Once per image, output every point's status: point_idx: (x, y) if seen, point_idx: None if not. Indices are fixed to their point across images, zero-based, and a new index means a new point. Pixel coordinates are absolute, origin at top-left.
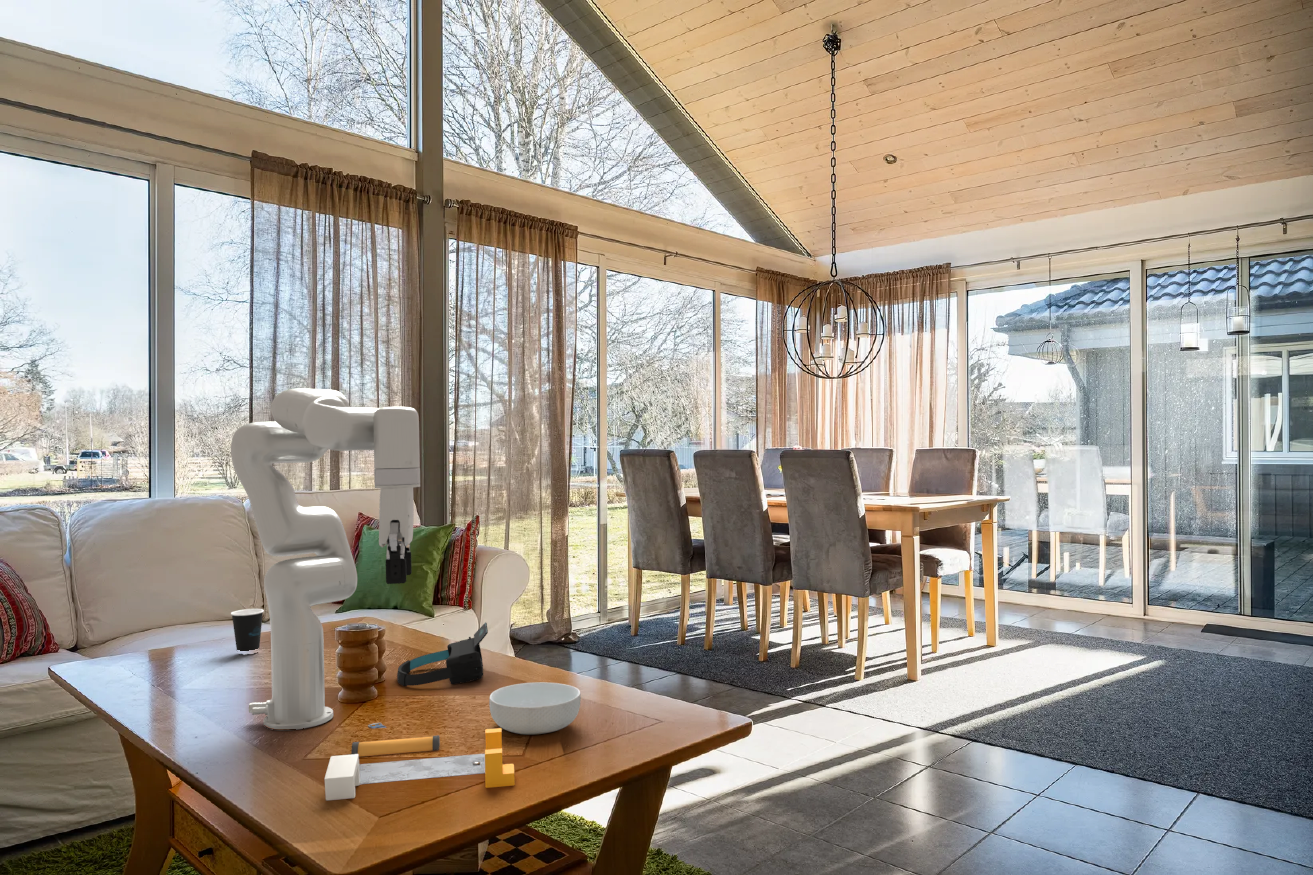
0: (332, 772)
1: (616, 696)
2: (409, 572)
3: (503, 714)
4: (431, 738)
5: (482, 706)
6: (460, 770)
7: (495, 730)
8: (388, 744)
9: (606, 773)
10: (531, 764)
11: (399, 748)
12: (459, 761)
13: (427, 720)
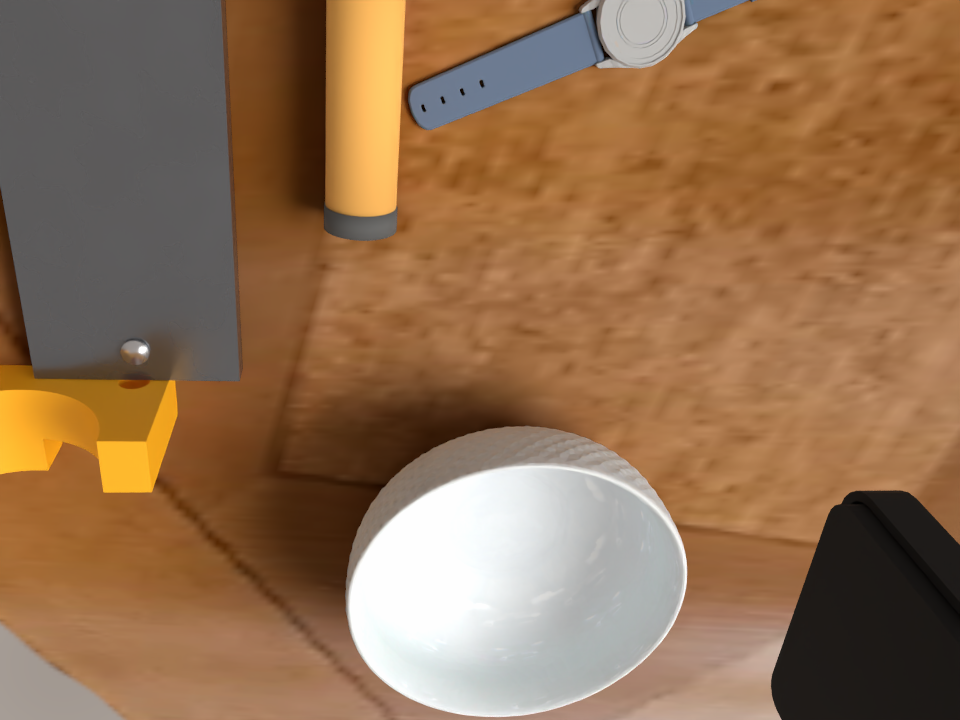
0: None
1: (741, 715)
2: (782, 705)
3: (401, 486)
4: (347, 210)
5: (861, 363)
6: (69, 300)
7: (123, 474)
8: (340, 26)
9: (64, 658)
10: (179, 492)
11: (328, 72)
12: (171, 297)
13: (796, 165)
